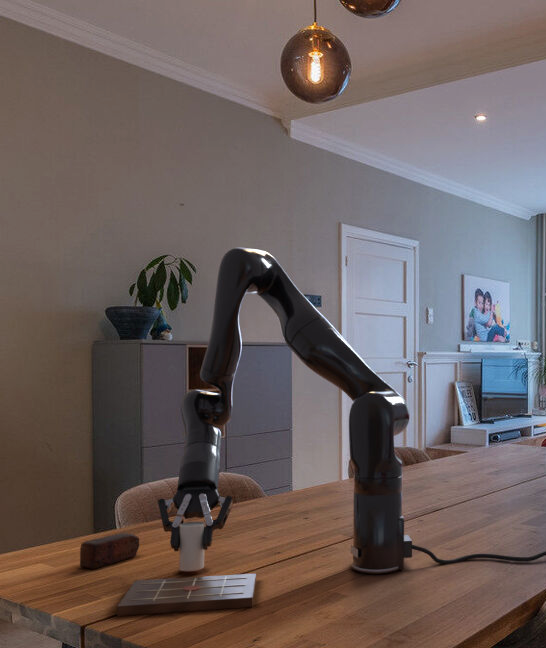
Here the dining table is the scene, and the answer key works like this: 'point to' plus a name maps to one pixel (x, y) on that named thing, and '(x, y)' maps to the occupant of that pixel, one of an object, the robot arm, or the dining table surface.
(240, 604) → the board
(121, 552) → the brick
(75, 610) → the dining table surface
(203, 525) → the white upright cylinder
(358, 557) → the robot arm
